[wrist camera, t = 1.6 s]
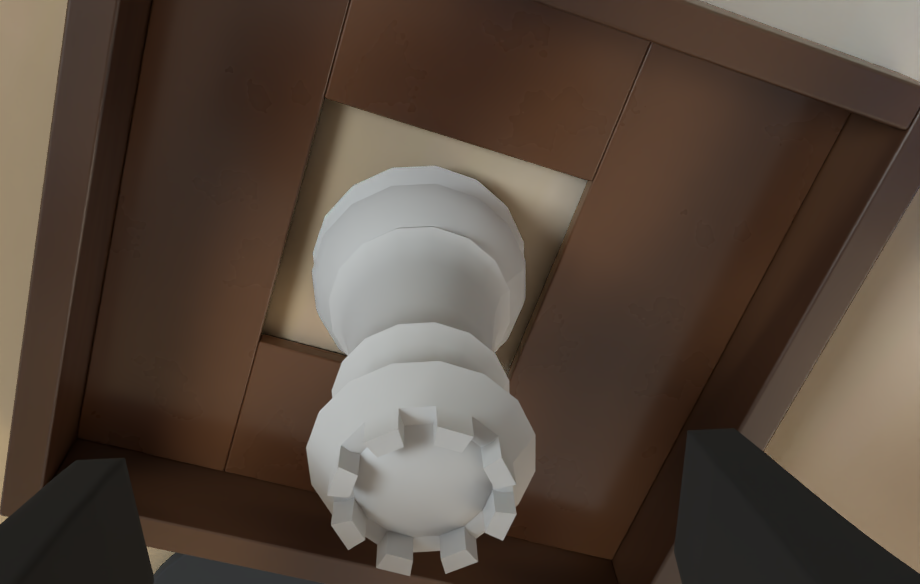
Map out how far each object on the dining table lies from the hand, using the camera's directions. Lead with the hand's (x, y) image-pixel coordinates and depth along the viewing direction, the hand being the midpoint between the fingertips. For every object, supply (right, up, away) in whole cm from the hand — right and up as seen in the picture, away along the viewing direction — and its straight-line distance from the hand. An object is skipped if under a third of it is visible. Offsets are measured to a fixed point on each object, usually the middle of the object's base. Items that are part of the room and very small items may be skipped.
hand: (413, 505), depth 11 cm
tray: (0, +3, +8) cm, 8 cm away
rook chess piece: (0, +4, +8) cm, 8 cm away
